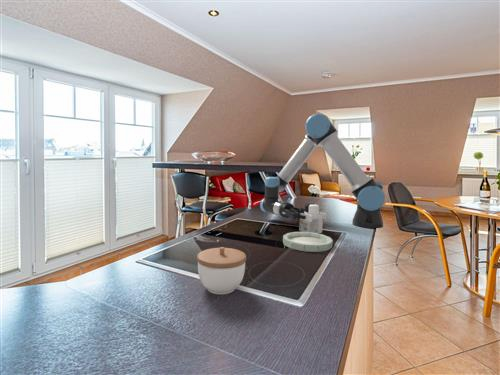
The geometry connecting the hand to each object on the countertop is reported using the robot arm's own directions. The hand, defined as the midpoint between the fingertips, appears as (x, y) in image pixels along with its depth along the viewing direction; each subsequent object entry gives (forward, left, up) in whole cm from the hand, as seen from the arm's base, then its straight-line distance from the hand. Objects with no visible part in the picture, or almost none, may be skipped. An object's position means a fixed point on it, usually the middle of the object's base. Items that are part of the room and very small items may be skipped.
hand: (319, 217), depth 138 cm
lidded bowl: (+62, +34, -8) cm, 71 cm away
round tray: (+15, +11, -8) cm, 20 cm away
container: (+1, -4, -8) cm, 9 cm away
